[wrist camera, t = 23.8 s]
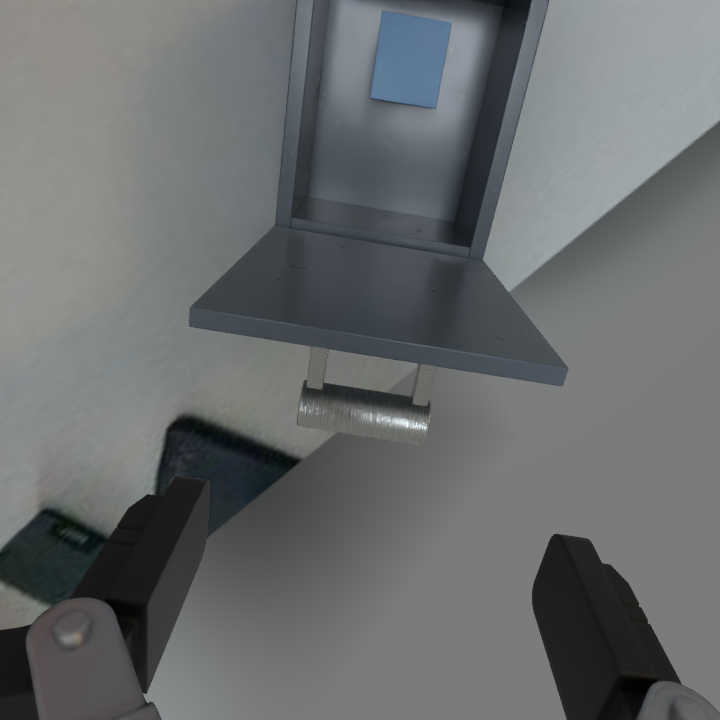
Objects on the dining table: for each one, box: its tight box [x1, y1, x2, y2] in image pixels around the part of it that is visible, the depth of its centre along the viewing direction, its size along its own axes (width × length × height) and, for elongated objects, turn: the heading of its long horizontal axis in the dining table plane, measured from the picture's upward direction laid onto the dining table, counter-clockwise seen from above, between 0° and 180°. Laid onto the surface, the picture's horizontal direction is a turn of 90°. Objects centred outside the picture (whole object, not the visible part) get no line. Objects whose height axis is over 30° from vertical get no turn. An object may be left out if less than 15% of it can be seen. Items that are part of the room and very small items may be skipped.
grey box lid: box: [189, 226, 568, 445], centre depth 30 cm, size 18×14×5 cm
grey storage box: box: [275, 0, 549, 261], centre depth 38 cm, size 17×14×10 cm
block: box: [370, 11, 452, 109], centre depth 39 cm, size 5×5×4 cm
